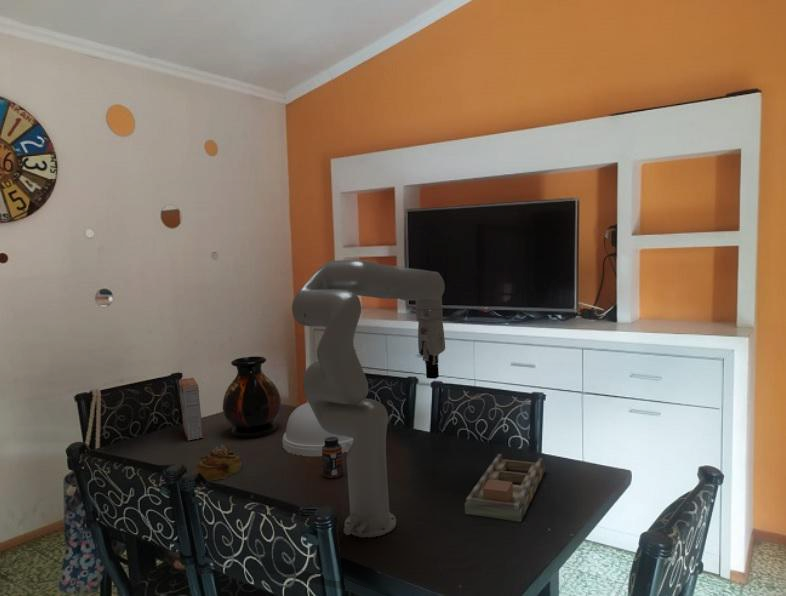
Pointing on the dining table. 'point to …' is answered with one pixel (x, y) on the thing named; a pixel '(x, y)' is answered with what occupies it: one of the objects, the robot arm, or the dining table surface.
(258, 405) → the dark brown vase
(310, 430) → the dome cover
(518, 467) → the board
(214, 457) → the pastry
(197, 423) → the cracker box
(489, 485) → the terracotta block
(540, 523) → the dining table surface
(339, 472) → the supplement bottle
